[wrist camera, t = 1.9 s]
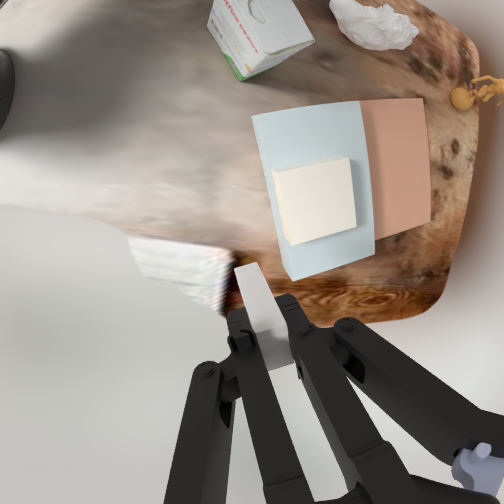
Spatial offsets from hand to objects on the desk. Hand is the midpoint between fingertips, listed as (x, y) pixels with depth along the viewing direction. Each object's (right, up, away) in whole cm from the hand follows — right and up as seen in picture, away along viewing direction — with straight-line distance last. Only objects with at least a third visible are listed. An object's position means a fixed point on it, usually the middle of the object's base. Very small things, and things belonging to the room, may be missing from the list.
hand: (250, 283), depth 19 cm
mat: (+20, +14, +18) cm, 30 cm away
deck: (+8, +10, +17) cm, 21 cm away
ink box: (-1, +26, +8) cm, 27 cm away
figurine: (+33, +28, +14) cm, 46 cm away
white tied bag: (+14, +31, +9) cm, 35 cm away
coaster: (+7, +8, +13) cm, 17 cm away
